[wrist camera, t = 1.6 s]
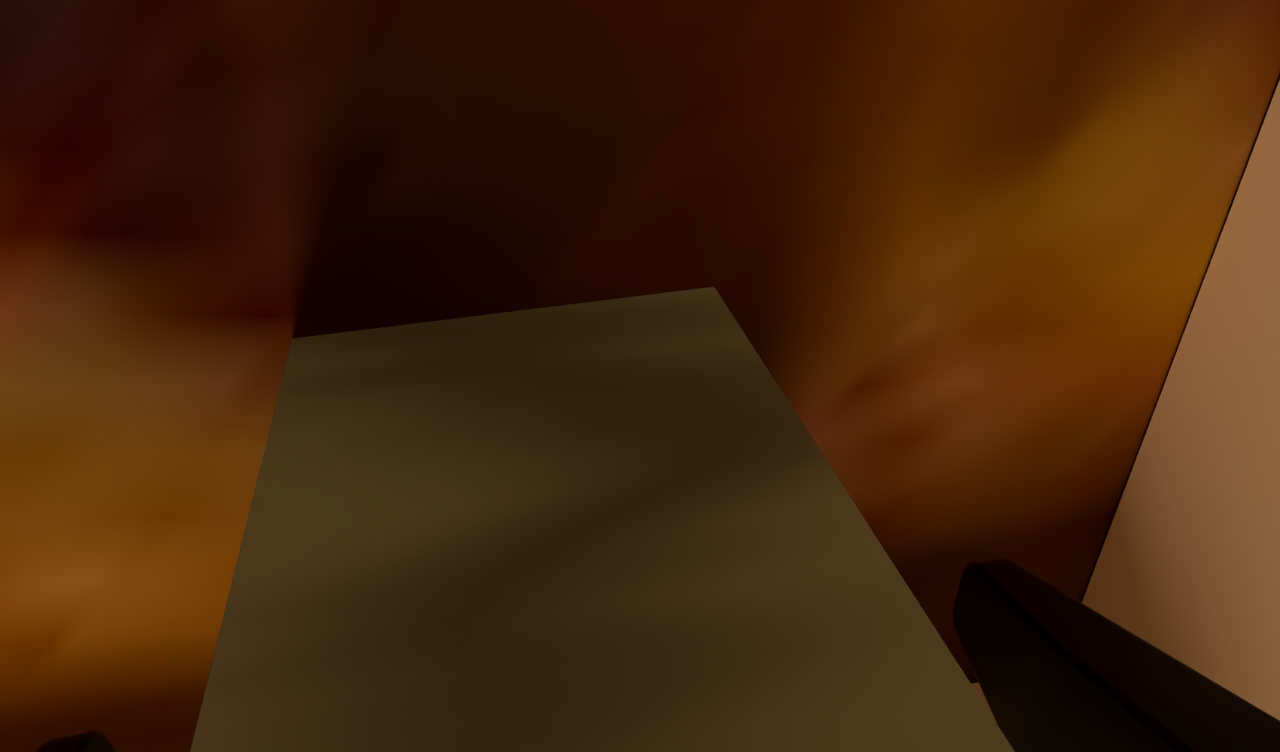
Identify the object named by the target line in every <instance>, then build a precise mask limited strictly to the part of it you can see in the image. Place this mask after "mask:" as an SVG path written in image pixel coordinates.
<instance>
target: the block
mask: <svg viewBox="0 0 1280 752" xmlns="http://www.w3.org/2000/svg"><path fill="white" fill-rule="evenodd" d="M190 752H1015V751H1014V750H1013V748H1012V747H1011V745H1010V744H1009V742H1008V740H1007V739H1006V737H1005V736H1004V734H1003V733H1002V731H1001V730H1000V728H999V727H998V725H997V723H996V722H995V720H994V719H993V717H992V716H991V714H990V713H989V711H988V709H987V708H986V706H985V705H984V703H983V702H982V700H981V699H980V697H979V696H978V694H977V692H976V691H975V689H974V688H973V686H972V685H971V683H970V682H969V680H968V679H967V677H966V675H965V674H964V672H963V671H962V669H961V668H960V666H959V665H958V663H957V662H956V660H955V658H954V657H953V655H952V654H951V652H950V651H949V649H948V648H947V646H946V644H945V643H944V641H943V640H942V638H941V637H940V635H939V634H938V632H937V631H936V629H935V627H934V626H933V624H932V623H931V621H930V620H929V618H928V617H927V615H926V614H925V612H924V610H923V609H922V607H921V606H920V604H919V603H918V601H917V600H916V598H915V597H914V595H913V593H912V592H911V590H910V589H909V587H908V586H907V584H906V583H905V581H904V580H903V578H902V576H901V575H900V573H899V572H898V570H897V569H896V567H895V566H894V564H893V562H892V561H891V559H890V558H889V556H888V555H887V553H886V552H885V550H884V549H883V547H882V545H881V544H880V542H879V541H878V539H877V538H876V536H875V535H874V533H873V532H872V530H871V528H870V527H869V525H868V524H867V522H866V521H865V519H864V518H863V516H862V515H861V513H860V511H859V510H858V508H857V507H856V505H855V504H854V502H853V501H852V499H851V497H850V496H849V494H848V493H847V491H846V490H845V488H844V487H843V485H842V484H841V482H840V480H839V479H838V477H837V476H836V474H835V473H834V471H833V470H832V468H831V467H830V465H829V463H828V462H827V460H826V459H825V457H824V456H823V454H822V453H821V451H820V450H819V448H818V446H817V445H816V443H815V442H814V440H813V439H812V437H811V436H810V434H809V432H808V431H807V429H806V428H805V426H804V425H803V423H802V422H801V420H800V419H799V417H798V415H797V414H796V412H795V411H794V409H793V408H792V406H791V405H790V403H789V402H788V400H787V398H786V397H785V395H784V394H783V392H782V391H781V389H780V388H779V386H778V385H777V383H776V381H775V380H774V378H773V377H772V375H771V374H770V372H769V371H768V369H767V368H766V366H765V364H764V363H763V361H762V360H761V358H760V357H759V355H758V354H757V352H756V350H755V349H754V347H753V346H752V344H751V343H750V341H749V340H748V338H747V337H746V335H745V333H744V332H743V330H742V329H741V327H740V326H739V324H738V323H737V321H736V320H735V318H734V316H733V315H732V313H731V312H730V310H729V309H728V307H727V306H726V304H725V303H724V301H723V299H722V298H721V296H720V295H719V293H718V292H717V290H716V289H715V287H708V288H700V289H691V290H683V291H675V292H667V293H659V294H651V295H643V296H635V297H626V298H618V299H610V300H602V301H594V302H586V303H578V304H569V305H561V306H553V307H545V308H537V309H529V310H521V311H513V312H504V313H496V314H488V315H480V316H472V317H464V318H456V319H448V320H439V321H431V322H423V323H415V324H407V325H399V326H391V327H382V328H374V329H366V330H358V331H350V332H342V333H334V334H326V335H317V336H309V337H301V338H293V339H292V343H291V347H290V351H289V355H288V359H287V363H286V367H285V371H284V375H283V379H282V383H281V387H280V391H279V395H278V399H277V403H276V407H275V411H274V415H273V419H272V423H271V427H270V431H269V435H268V439H267V444H266V448H265V452H264V456H263V460H262V464H261V468H260V472H259V476H258V480H257V484H256V488H255V492H254V496H253V500H252V504H251V508H250V512H249V516H248V520H247V524H246V528H245V532H244V536H243V540H242V544H241V548H240V552H239V556H238V560H237V564H236V568H235V573H234V577H233V581H232V585H231V589H230V593H229V597H228V601H227V605H226V609H225V613H224V617H223V621H222V625H221V629H220V633H219V637H218V641H217V645H216V649H215V653H214V657H213V661H212V665H211V669H210V673H209V677H208V681H207V685H206V689H205V693H204V697H203V701H202V706H201V710H200V714H199V718H198V722H197V726H196V730H195V734H194V738H193V742H192V746H191V750H190Z"/></svg>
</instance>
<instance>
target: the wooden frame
mask: <svg viewBox="0 0 1280 752" xmlns="http://www.w3.org/2000/svg"><path fill="white" fill-rule="evenodd" d="M1082 603H1083V604H1085V605H1086V606H1088V607H1090V608H1091V609H1093V610H1095V611H1096V612H1098V613H1100V614H1101V615H1103V616H1105V617H1106V618H1108V619H1110V620H1111V621H1113V622H1115V623H1117V624H1118V625H1120V626H1122V627H1123V628H1125V629H1127V630H1128V631H1130V632H1132V633H1133V634H1135V635H1137V636H1138V637H1140V638H1142V639H1143V640H1145V641H1147V642H1148V643H1150V644H1152V645H1154V646H1155V647H1157V648H1159V649H1160V650H1162V651H1164V652H1165V653H1167V654H1169V655H1170V656H1172V657H1174V658H1175V659H1177V660H1179V661H1180V662H1182V663H1184V664H1185V665H1187V666H1189V667H1191V668H1192V669H1194V670H1196V671H1197V672H1199V673H1201V674H1202V675H1204V676H1206V677H1207V678H1209V679H1211V680H1212V681H1214V682H1216V683H1217V684H1219V685H1221V686H1223V687H1224V688H1226V689H1228V690H1229V691H1231V692H1233V693H1234V694H1236V695H1238V696H1239V697H1241V698H1243V699H1244V700H1246V701H1248V702H1249V703H1251V704H1253V705H1254V706H1256V707H1258V708H1260V709H1261V710H1263V711H1265V712H1266V713H1268V714H1270V715H1271V716H1273V717H1275V718H1276V719H1278V720H1280V80H1279V83H1278V85H1277V88H1276V91H1275V93H1274V96H1273V99H1272V101H1271V104H1270V107H1269V109H1268V112H1267V114H1266V117H1265V120H1264V122H1263V125H1262V128H1261V130H1260V133H1259V136H1258V138H1257V141H1256V144H1255V146H1254V149H1253V151H1252V154H1251V157H1250V159H1249V162H1248V165H1247V167H1246V170H1245V173H1244V175H1243V178H1242V181H1241V183H1240V186H1239V188H1238V191H1237V194H1236V196H1235V199H1234V202H1233V204H1232V207H1231V210H1230V212H1229V215H1228V218H1227V220H1226V223H1225V225H1224V228H1223V231H1222V233H1221V236H1220V239H1219V241H1218V244H1217V247H1216V249H1215V252H1214V255H1213V257H1212V260H1211V262H1210V265H1209V268H1208V270H1207V273H1206V276H1205V278H1204V281H1203V284H1202V286H1201V289H1200V292H1199V294H1198V297H1197V299H1196V302H1195V305H1194V307H1193V310H1192V313H1191V315H1190V318H1189V321H1188V323H1187V326H1186V329H1185V331H1184V334H1183V336H1182V339H1181V342H1180V344H1179V347H1178V350H1177V352H1176V355H1175V358H1174V360H1173V363H1172V366H1171V368H1170V371H1169V373H1168V376H1167V379H1166V381H1165V384H1164V387H1163V389H1162V392H1161V395H1160V397H1159V400H1158V403H1157V405H1156V408H1155V410H1154V413H1153V416H1152V418H1151V421H1150V424H1149V426H1148V429H1147V432H1146V434H1145V437H1144V440H1143V442H1142V445H1141V447H1140V450H1139V453H1138V455H1137V458H1136V461H1135V463H1134V466H1133V469H1132V471H1131V474H1130V477H1129V479H1128V482H1127V484H1126V487H1125V490H1124V492H1123V495H1122V498H1121V500H1120V503H1119V506H1118V508H1117V511H1116V514H1115V516H1114V519H1113V521H1112V524H1111V527H1110V529H1109V532H1108V535H1107V537H1106V540H1105V543H1104V545H1103V548H1102V551H1101V553H1100V556H1099V558H1098V561H1097V564H1096V566H1095V569H1094V572H1093V574H1092V577H1091V580H1090V582H1089V585H1088V588H1087V590H1086V593H1085V595H1084V598H1083V601H1082ZM971 685H972V686H973V688H974V689H975V691H976V692H977V694H978V696H979V697H980V699H981V700H982V702H983V703H984V705H985V706H986V708H987V709H988V711H989V713H990V714H991V716H992V717H993V719H994V720H995V718H994V716H993V714H992V712H991V709H990V707H989V705H988V703H987V700H986V698H985V696H984V694H983V692H982V689H981V687H980V685H979V683H973V684H971ZM995 722H996V721H995Z"/></svg>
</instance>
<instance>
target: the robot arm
mask: <svg viewBox="0 0 1280 752" xmlns="http://www.w3.org/2000/svg"><path fill="white" fill-rule="evenodd" d="M953 622H954V627H955V630H956V633H957V635H958V638H959V640H960V642H961V644H962V647H963V649H964V651H965V653H966V656H967V658H968V660H969V662H970V665H971V667H972V669H973V671H974V674H975V676H976V678H977V680H978V683H979V685H980V687H981V689H982V692H983V694H984V696H985V698H986V700H987V703H988V705H989V707H990V709H991V712H992V714H993V716H994V718H995V721H996V723H997V725H998V727H999V728H1000V730H1001V731H1002V733H1003V734H1004V736H1005V737H1006V739H1007V740H1008V742H1009V744H1010V745H1011V747H1012V748H1013V750H1014V751H1015V752H1280V720H1278V719H1276V718H1275V717H1273V716H1271V715H1270V714H1268V713H1266V712H1265V711H1263V710H1261V709H1260V708H1258V707H1256V706H1254V705H1253V704H1251V703H1249V702H1248V701H1246V700H1244V699H1243V698H1241V697H1239V696H1238V695H1236V694H1234V693H1233V692H1231V691H1229V690H1228V689H1226V688H1224V687H1223V686H1221V685H1219V684H1217V683H1216V682H1214V681H1212V680H1211V679H1209V678H1207V677H1206V676H1204V675H1202V674H1201V673H1199V672H1197V671H1196V670H1194V669H1192V668H1191V667H1189V666H1187V665H1185V664H1184V663H1182V662H1180V661H1179V660H1177V659H1175V658H1174V657H1172V656H1170V655H1169V654H1167V653H1165V652H1164V651H1162V650H1160V649H1159V648H1157V647H1155V646H1154V645H1152V644H1150V643H1148V642H1147V641H1145V640H1143V639H1142V638H1140V637H1138V636H1137V635H1135V634H1133V633H1132V632H1130V631H1128V630H1127V629H1125V628H1123V627H1122V626H1120V625H1118V624H1117V623H1115V622H1113V621H1111V620H1110V619H1108V618H1106V617H1105V616H1103V615H1101V614H1100V613H1098V612H1096V611H1095V610H1093V609H1091V608H1090V607H1088V606H1086V605H1085V604H1083V603H1081V602H1079V601H1078V600H1076V599H1074V598H1073V597H1071V596H1069V595H1068V594H1066V593H1064V592H1063V591H1061V590H1059V589H1058V588H1056V587H1054V586H1053V585H1051V584H1049V583H1048V582H1046V581H1044V580H1042V579H1041V578H1039V577H1037V576H1036V575H1034V574H1032V573H1031V572H1029V571H1027V570H1026V569H1024V568H1022V567H1021V566H1019V565H1017V564H1016V563H1014V562H1012V561H1010V560H1008V559H1006V558H1003V557H993V558H987V559H982V560H977V561H972V562H970V563H968V564H967V565H966V566H965V568H964V570H963V573H962V577H961V581H960V585H959V589H958V593H957V596H956V600H955V604H954V608H953ZM36 752H116V751H115V749H114V748H113V746H112V744H111V743H110V741H109V739H108V738H107V736H106V735H105V734H104V732H102V731H100V730H98V729H87V730H82V731H77V732H71V733H66V734H61V735H57V736H54V737H52V738H50V739H49V740H47V741H46V742H45V743H43V744H42V745H41V746H40V747H39V748H38V749H37V751H36Z"/></svg>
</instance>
